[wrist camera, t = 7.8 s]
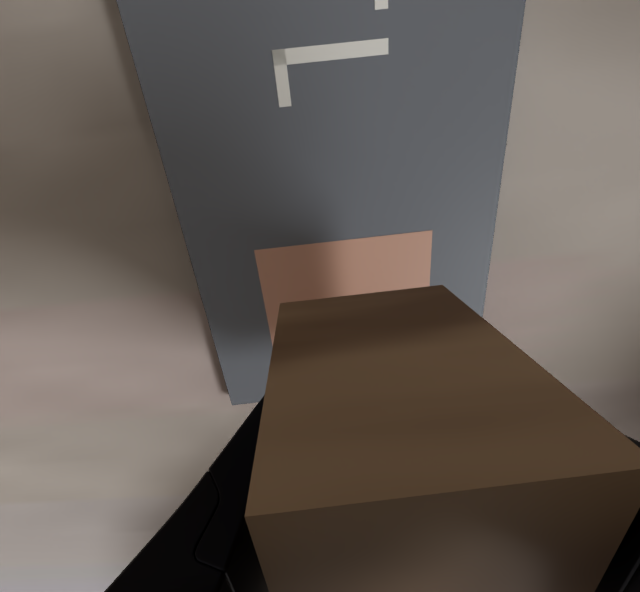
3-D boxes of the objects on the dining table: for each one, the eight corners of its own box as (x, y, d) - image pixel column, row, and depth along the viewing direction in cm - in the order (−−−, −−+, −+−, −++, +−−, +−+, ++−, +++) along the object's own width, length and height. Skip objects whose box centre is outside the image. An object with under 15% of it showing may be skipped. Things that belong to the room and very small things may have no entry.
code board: (-233, -1292, 4) (-329, -1551, 3) (679, -1334, 4) (744, -1588, 3) (234, 396, 15) (232, 405, 14) (468, 368, 15) (474, 376, 15)
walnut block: (279, 303, 9) (245, 517, 3) (442, 284, 9) (661, 465, 4) (300, 424, 11) (298, 682, 5) (433, 408, 11) (564, 647, 6)
